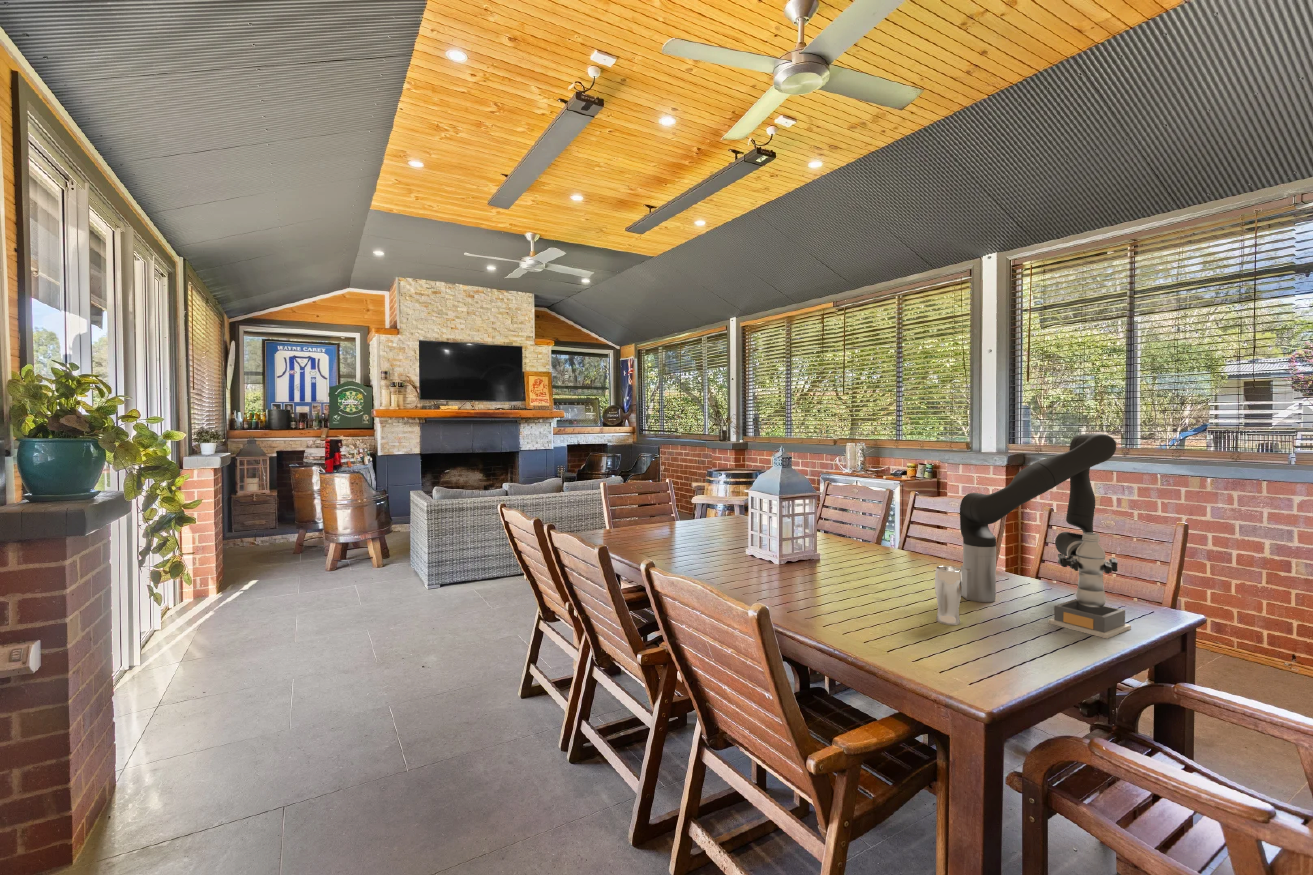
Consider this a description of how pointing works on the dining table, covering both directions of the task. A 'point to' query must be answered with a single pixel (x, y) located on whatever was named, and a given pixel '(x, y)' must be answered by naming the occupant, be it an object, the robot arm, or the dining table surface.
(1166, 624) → the dining table surface
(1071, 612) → the labelled socket
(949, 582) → the beer glass
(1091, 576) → the plastic bottle
